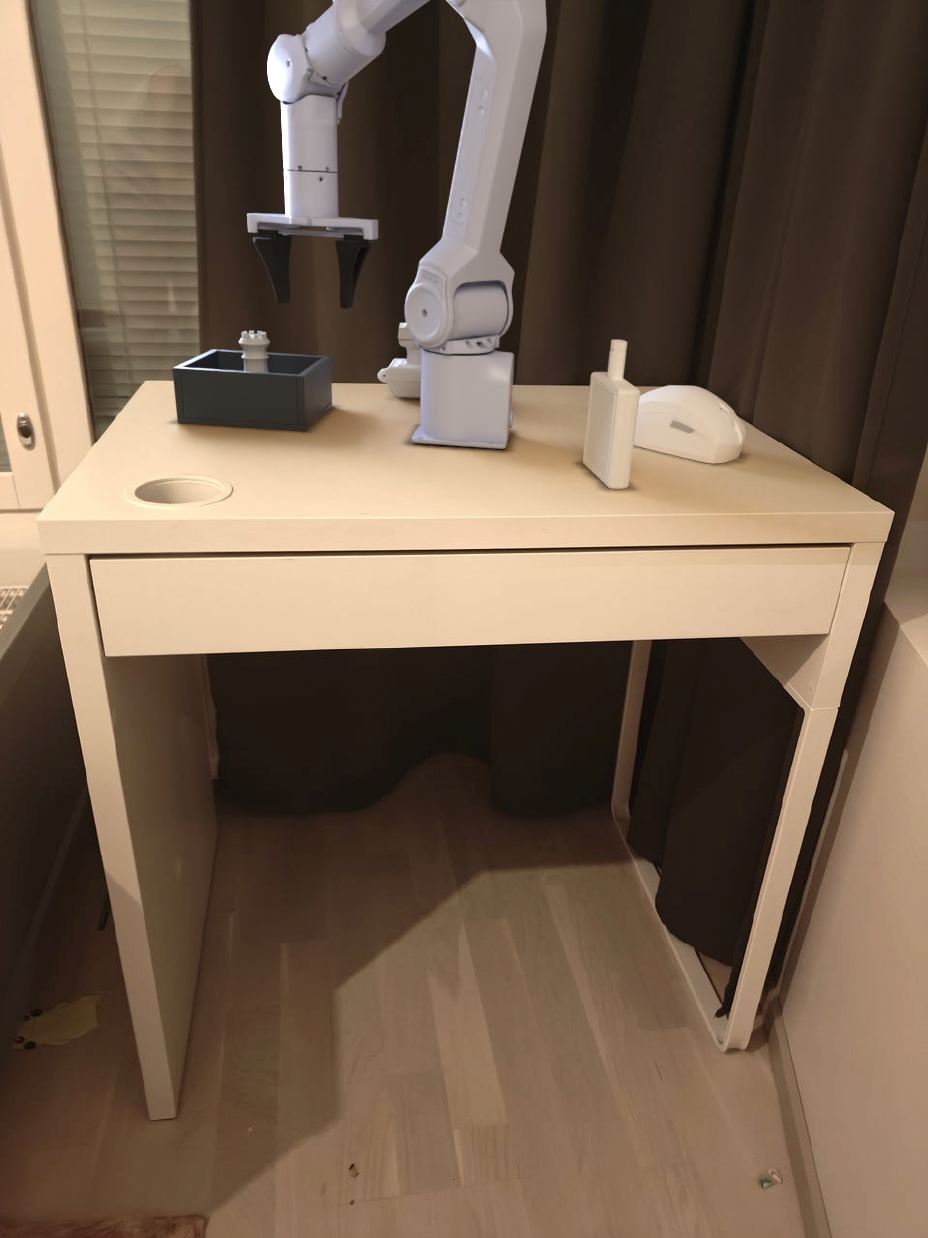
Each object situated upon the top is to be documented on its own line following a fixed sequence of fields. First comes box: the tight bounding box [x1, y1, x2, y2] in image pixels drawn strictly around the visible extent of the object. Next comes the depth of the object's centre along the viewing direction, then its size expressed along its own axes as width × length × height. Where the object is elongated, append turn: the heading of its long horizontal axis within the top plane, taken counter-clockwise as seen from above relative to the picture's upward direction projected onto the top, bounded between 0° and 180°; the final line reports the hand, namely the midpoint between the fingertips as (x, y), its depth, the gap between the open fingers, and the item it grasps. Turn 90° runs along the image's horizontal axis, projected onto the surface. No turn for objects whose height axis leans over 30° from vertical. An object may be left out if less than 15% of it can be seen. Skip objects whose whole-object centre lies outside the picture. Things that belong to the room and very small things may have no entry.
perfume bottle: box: [582, 339, 641, 490], centre depth 81 cm, size 8×2×12 cm, turn 10°
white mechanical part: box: [377, 322, 422, 400], centre depth 109 cm, size 9×7×8 cm
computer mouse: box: [633, 384, 747, 464], centre depth 92 cm, size 6×13×6 cm, turn 47°
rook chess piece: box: [238, 330, 271, 373], centre depth 97 cm, size 4×4×8 cm
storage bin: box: [171, 348, 333, 432], centre depth 98 cm, size 14×12×6 cm
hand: (314, 305), depth 103 cm, fingers open, 7 cm apart
